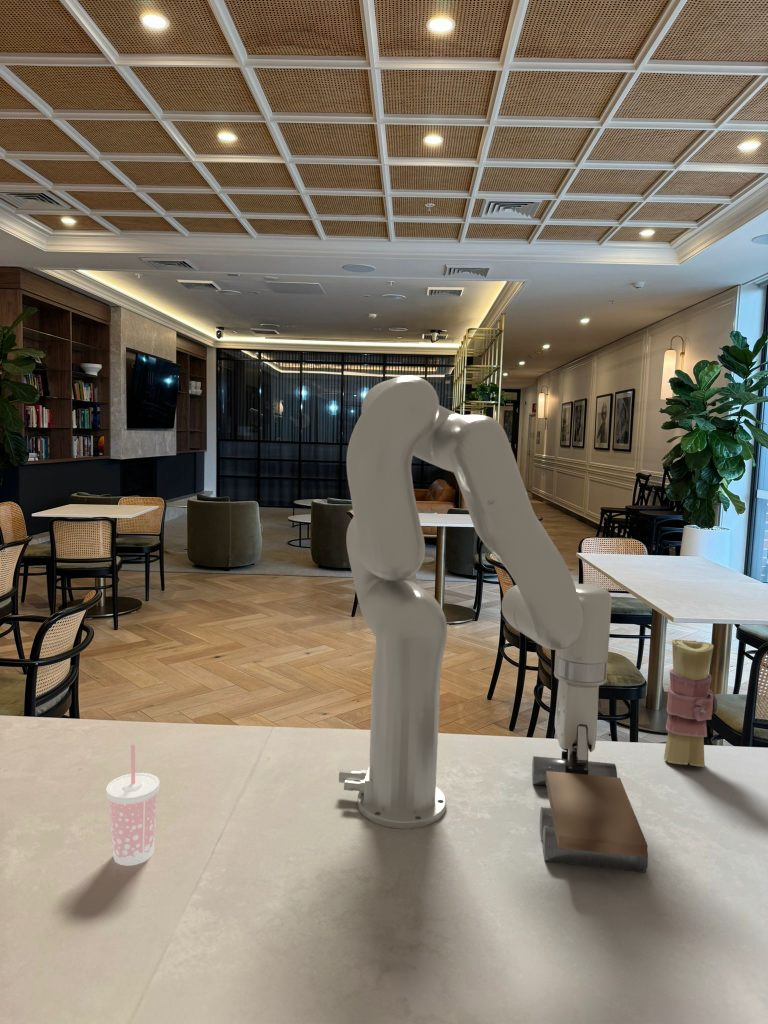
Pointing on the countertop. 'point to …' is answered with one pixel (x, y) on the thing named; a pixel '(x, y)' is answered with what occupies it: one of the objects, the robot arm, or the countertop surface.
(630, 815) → the slab
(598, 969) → the countertop surface
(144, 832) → the beverage cup
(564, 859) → the roller front
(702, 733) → the scroll
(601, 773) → the roller
